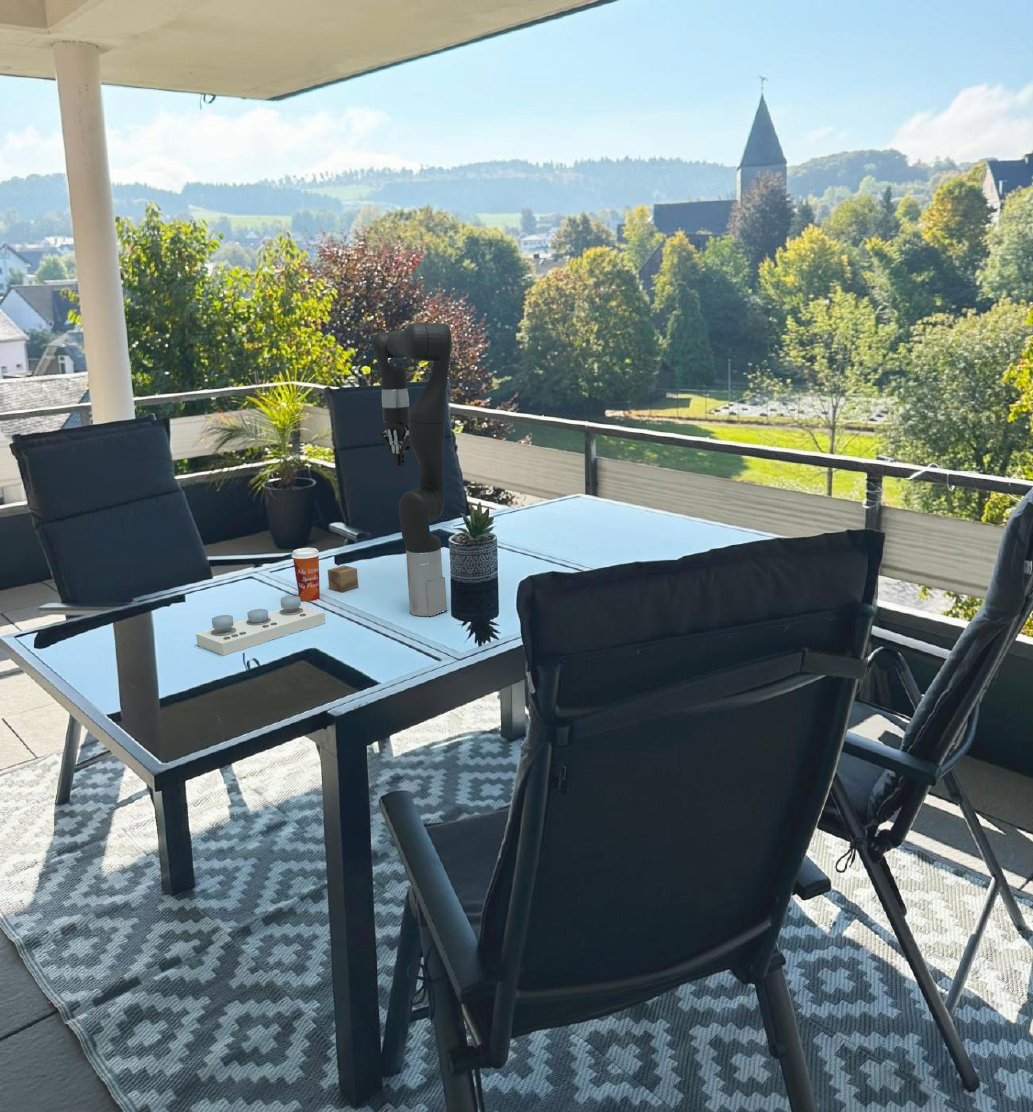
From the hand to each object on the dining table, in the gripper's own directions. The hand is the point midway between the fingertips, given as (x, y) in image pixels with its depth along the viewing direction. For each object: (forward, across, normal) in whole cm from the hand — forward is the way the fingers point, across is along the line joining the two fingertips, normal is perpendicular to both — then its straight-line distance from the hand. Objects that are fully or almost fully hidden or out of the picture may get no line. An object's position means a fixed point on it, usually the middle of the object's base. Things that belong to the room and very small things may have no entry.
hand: (399, 466), depth 284 cm
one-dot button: (+30, -3, +42) cm, 52 cm away
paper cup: (+35, +12, +26) cm, 45 cm away
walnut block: (+35, +12, +14) cm, 40 cm away
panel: (+35, -4, +52) cm, 63 cm away
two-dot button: (+31, -2, +52) cm, 61 cm away
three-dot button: (+30, -2, +62) cm, 69 cm away
